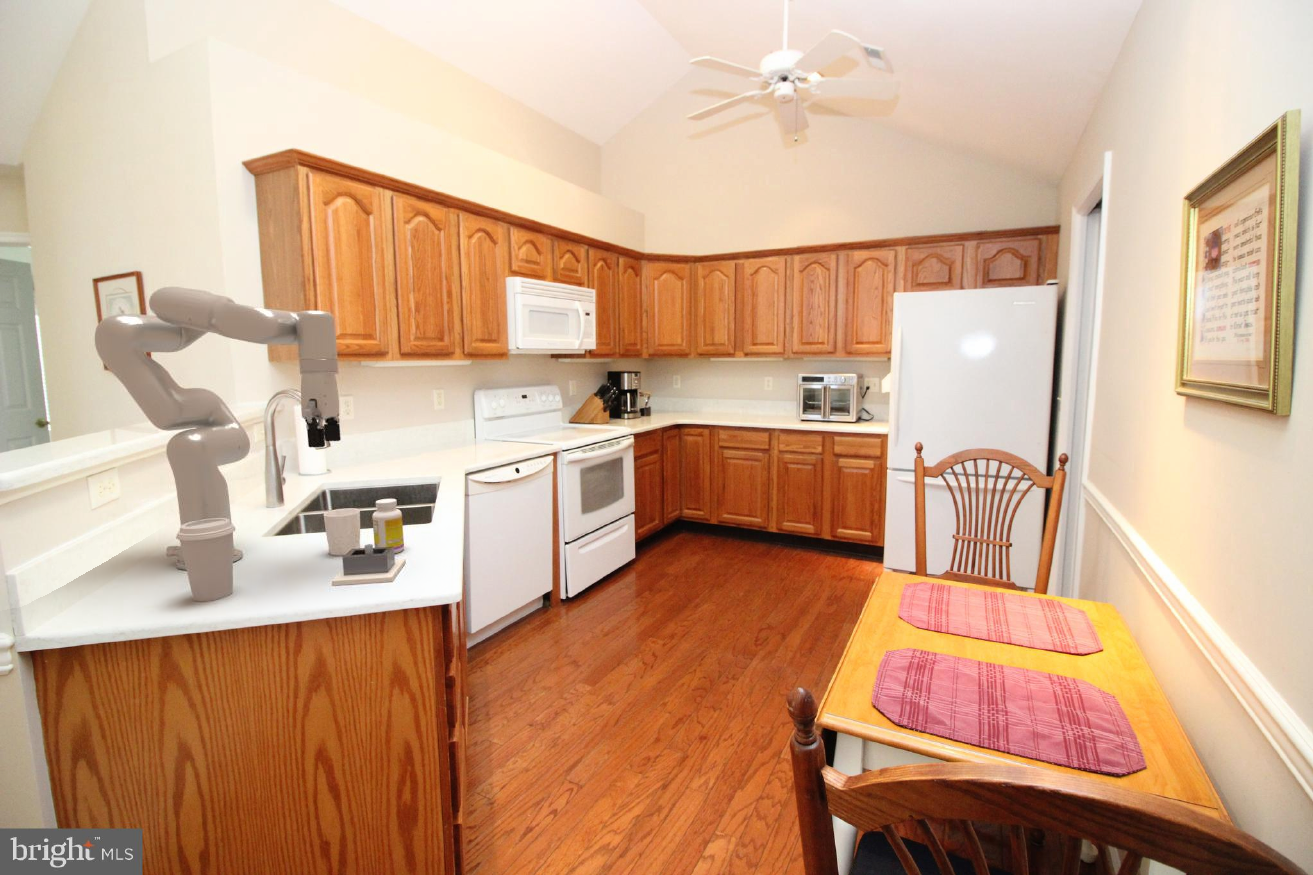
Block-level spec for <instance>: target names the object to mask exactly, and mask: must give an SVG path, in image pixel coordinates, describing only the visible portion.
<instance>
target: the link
mask: <svg viewBox="0 0 1313 875" xmlns="http://www.w3.org/2000/svg"><path fill="white" fill-rule="evenodd" d="M395 557H396V556H395V554H394V547H377V548H375V547H373V554H366V555H365V547H364V548H363V547H360V549H351V550H350V551H349V552H348V553H347V554H346V555H343V557H342V568H343V569H342V570H343V571H344V575H359V574H375V573H388V572H389V571H390V570H391V568H392V567H393V566H394V564H395V560H396V558H395Z"/></svg>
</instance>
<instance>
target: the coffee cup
mask: <svg viewBox="0 0 1313 875" xmlns="http://www.w3.org/2000/svg"><path fill="white" fill-rule="evenodd" d="M231 522H232V521H231ZM231 522H230V520H229V519H227V518H211V519H203V520H197V521H192V522H189V523H186V524H183V525H181V524H180V526H179V530H178V531H177V533H176V536H175V538H176V540H178V541H179V544H180V546H181V548H182V552H183V556H184V561H185V565H186V569H187V570H186V572H187V577H188V582H189V587H190V590H191V595H192V599H193V601H195V602H210V601H215V600H220V599H223V598H225V597H228V596H230V595H232V594H233V592H234V591H233V590H234V562H233V541H234V532H235V531H236V530H237V528H236V527H235V525H234V523H231Z"/></svg>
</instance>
